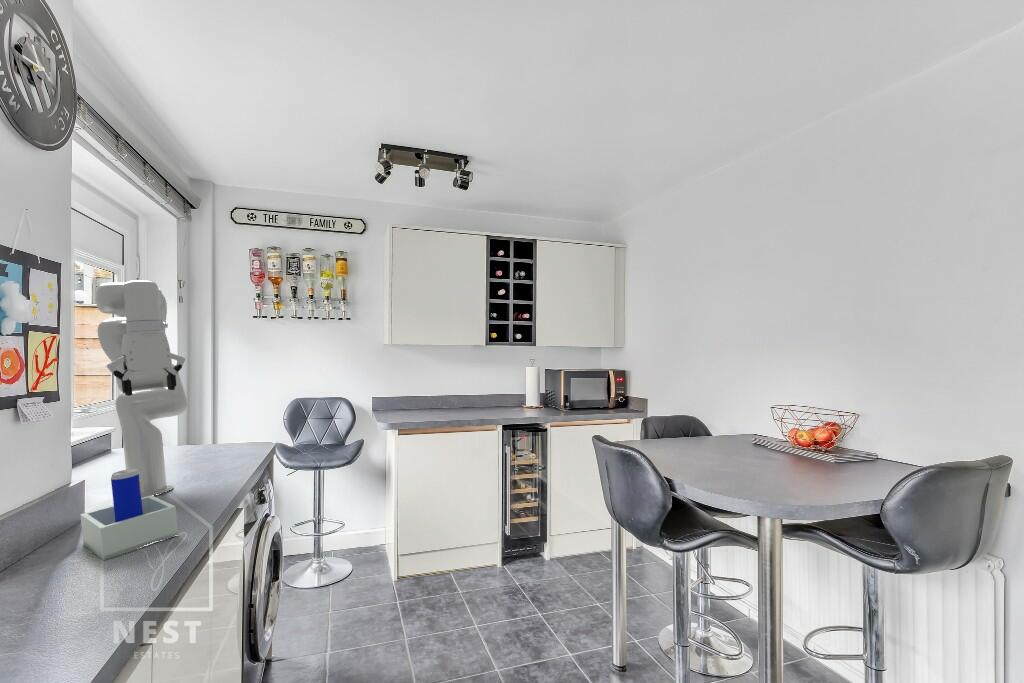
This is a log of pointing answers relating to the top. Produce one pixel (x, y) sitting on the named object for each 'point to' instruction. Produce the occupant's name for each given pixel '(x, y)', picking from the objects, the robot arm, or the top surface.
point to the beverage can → (126, 494)
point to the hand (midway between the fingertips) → (150, 392)
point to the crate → (128, 528)
